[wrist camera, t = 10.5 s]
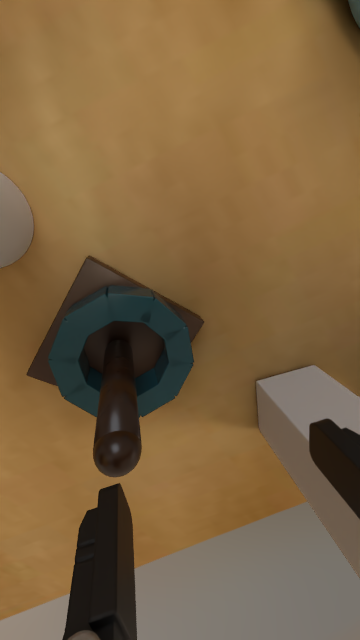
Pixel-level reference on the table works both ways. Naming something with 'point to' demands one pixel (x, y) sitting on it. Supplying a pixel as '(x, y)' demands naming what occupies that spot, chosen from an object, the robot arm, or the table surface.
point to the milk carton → (293, 443)
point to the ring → (128, 307)
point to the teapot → (355, 10)
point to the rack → (113, 367)
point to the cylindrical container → (13, 222)
